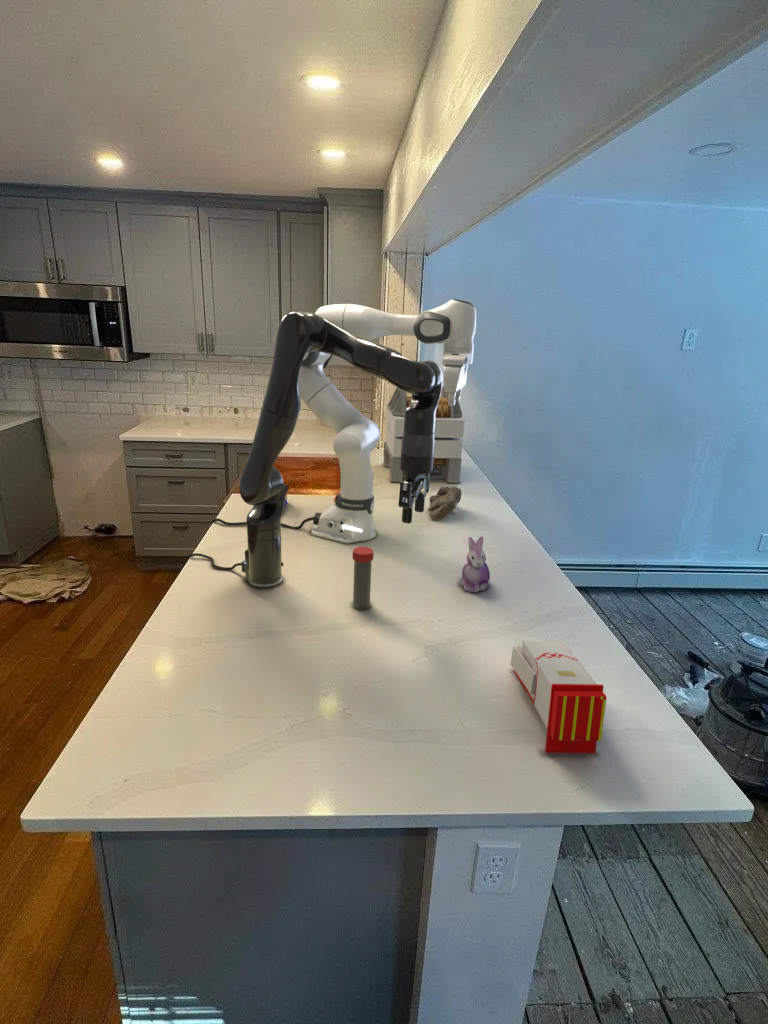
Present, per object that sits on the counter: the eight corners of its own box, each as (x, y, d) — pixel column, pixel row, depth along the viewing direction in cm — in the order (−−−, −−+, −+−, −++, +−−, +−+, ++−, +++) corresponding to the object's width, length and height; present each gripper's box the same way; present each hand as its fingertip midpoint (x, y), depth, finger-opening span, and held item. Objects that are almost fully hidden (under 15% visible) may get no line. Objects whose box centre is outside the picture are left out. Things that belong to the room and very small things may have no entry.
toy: (559, 623, 127) (616, 692, 98) (553, 678, 130) (607, 761, 101) (505, 622, 127) (547, 691, 98) (501, 677, 130) (540, 760, 100)
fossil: (424, 492, 232) (454, 472, 227) (437, 509, 235) (468, 490, 230) (422, 516, 212) (456, 495, 207) (437, 534, 215) (470, 514, 210)
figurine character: (285, 517, 214) (290, 500, 227) (284, 499, 210) (289, 483, 224) (267, 517, 213) (273, 500, 227) (266, 498, 210) (272, 482, 223)
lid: (373, 554, 149) (373, 546, 148) (373, 563, 144) (373, 555, 143) (353, 553, 149) (353, 545, 148) (352, 562, 144) (352, 554, 143)
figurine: (471, 596, 158) (477, 546, 153) (451, 580, 166) (455, 533, 161) (498, 590, 162) (504, 541, 157) (477, 575, 171) (482, 529, 166)
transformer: (382, 463, 289) (386, 382, 275) (445, 464, 293) (451, 384, 279) (390, 482, 257) (394, 392, 243) (460, 483, 261) (468, 394, 247)
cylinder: (370, 601, 153) (372, 548, 148) (369, 609, 149) (371, 556, 144) (353, 600, 153) (354, 548, 148) (352, 609, 149) (354, 555, 144)
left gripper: (412, 442, 137) (408, 505, 143) (390, 455, 125) (387, 523, 131) (442, 447, 135) (437, 511, 140) (422, 459, 122) (417, 529, 128)
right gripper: (453, 354, 180) (449, 398, 185) (441, 358, 161) (437, 407, 166) (473, 355, 178) (468, 399, 183) (463, 360, 160) (459, 409, 164)
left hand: (413, 517), depth 135 cm, fingers open, 8 cm apart
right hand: (454, 403), depth 174 cm, fingers open, 8 cm apart
